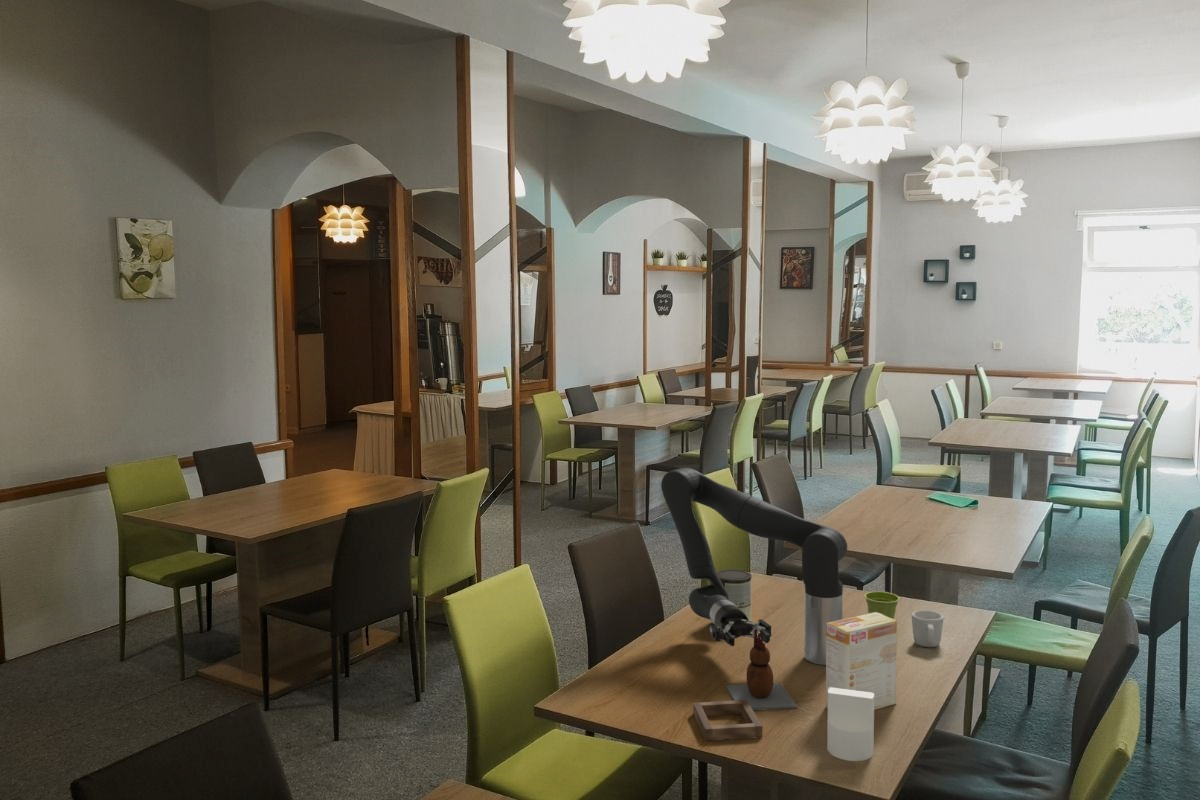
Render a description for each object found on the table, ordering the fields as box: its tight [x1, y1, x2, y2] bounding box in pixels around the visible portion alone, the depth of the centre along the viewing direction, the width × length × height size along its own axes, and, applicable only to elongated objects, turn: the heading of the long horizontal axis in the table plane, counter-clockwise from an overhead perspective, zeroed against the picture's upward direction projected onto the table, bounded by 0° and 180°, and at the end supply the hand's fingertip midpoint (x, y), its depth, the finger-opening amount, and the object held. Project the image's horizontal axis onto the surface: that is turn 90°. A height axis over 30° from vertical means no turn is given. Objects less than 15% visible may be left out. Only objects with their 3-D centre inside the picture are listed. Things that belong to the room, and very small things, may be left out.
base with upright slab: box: [826, 687, 875, 762], centre depth 184 cm, size 9×9×12 cm
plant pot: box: [864, 591, 900, 620], centre depth 256 cm, size 9×9×9 cm
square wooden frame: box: [692, 700, 763, 741], centre depth 197 cm, size 12×13×2 cm
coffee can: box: [716, 569, 753, 622], centre depth 261 cm, size 10×10×14 cm
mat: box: [726, 682, 798, 711], centre depth 211 cm, size 13×13×1 cm
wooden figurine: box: [746, 629, 774, 698], centre depth 210 cm, size 7×6×15 cm
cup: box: [911, 609, 945, 648], centre depth 241 cm, size 11×8×8 cm
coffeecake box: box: [825, 612, 898, 711], centre depth 205 cm, size 15×7×20 cm, turn 117°
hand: (750, 640), depth 216 cm, fingers open, 8 cm apart
